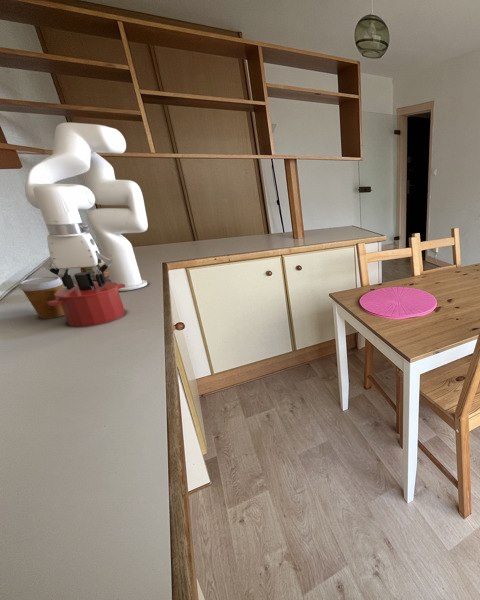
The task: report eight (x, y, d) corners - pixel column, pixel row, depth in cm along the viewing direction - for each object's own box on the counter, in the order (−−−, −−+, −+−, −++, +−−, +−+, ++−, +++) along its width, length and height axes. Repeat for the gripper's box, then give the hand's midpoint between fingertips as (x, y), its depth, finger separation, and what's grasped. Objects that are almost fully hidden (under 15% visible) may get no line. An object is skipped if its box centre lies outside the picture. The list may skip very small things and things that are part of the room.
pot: (46, 325, 96) (34, 297, 92) (116, 304, 113) (108, 279, 109) (74, 333, 92) (62, 303, 88) (142, 310, 108) (135, 284, 105)
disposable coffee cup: (32, 314, 103) (17, 279, 99) (73, 307, 110) (60, 274, 105) (32, 323, 97) (16, 286, 93) (75, 314, 104) (62, 280, 99)
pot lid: (44, 296, 95) (36, 277, 92) (100, 282, 108) (95, 265, 105) (74, 303, 90) (66, 283, 88) (129, 288, 103) (124, 270, 101)
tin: (90, 282, 134) (83, 263, 131) (82, 282, 134) (76, 263, 131) (119, 272, 148) (114, 255, 145) (113, 272, 148) (107, 255, 145)
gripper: (109, 226, 99) (125, 280, 105) (32, 229, 91) (55, 286, 98) (100, 230, 92) (118, 287, 99) (17, 233, 85) (42, 294, 92)
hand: (86, 286), depth 98 cm, fingers open, 6 cm apart
